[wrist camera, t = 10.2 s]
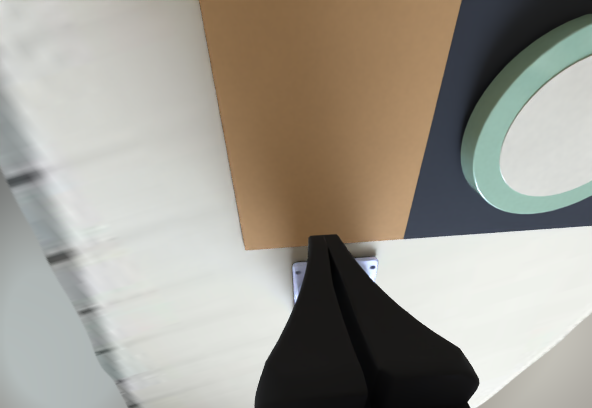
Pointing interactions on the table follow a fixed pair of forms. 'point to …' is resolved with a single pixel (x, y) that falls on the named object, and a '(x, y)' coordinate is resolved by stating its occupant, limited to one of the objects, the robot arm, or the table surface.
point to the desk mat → (366, 113)
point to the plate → (535, 126)
